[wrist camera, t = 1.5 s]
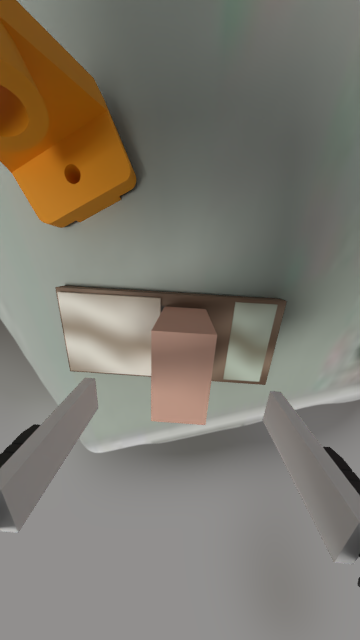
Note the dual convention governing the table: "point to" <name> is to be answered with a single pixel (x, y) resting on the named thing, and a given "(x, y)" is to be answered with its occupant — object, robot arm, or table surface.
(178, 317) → the stub
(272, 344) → the board
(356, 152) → the table surface
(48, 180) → the bracket
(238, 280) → the table surface
